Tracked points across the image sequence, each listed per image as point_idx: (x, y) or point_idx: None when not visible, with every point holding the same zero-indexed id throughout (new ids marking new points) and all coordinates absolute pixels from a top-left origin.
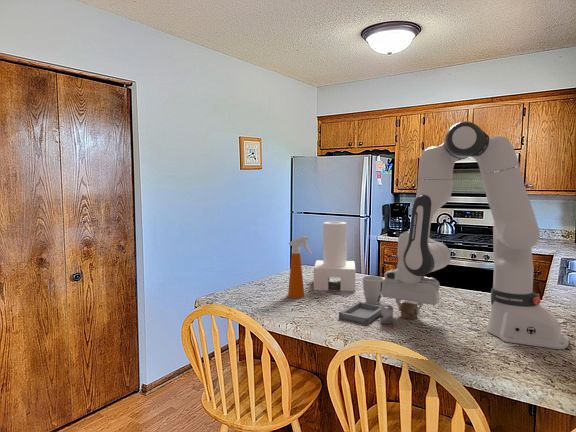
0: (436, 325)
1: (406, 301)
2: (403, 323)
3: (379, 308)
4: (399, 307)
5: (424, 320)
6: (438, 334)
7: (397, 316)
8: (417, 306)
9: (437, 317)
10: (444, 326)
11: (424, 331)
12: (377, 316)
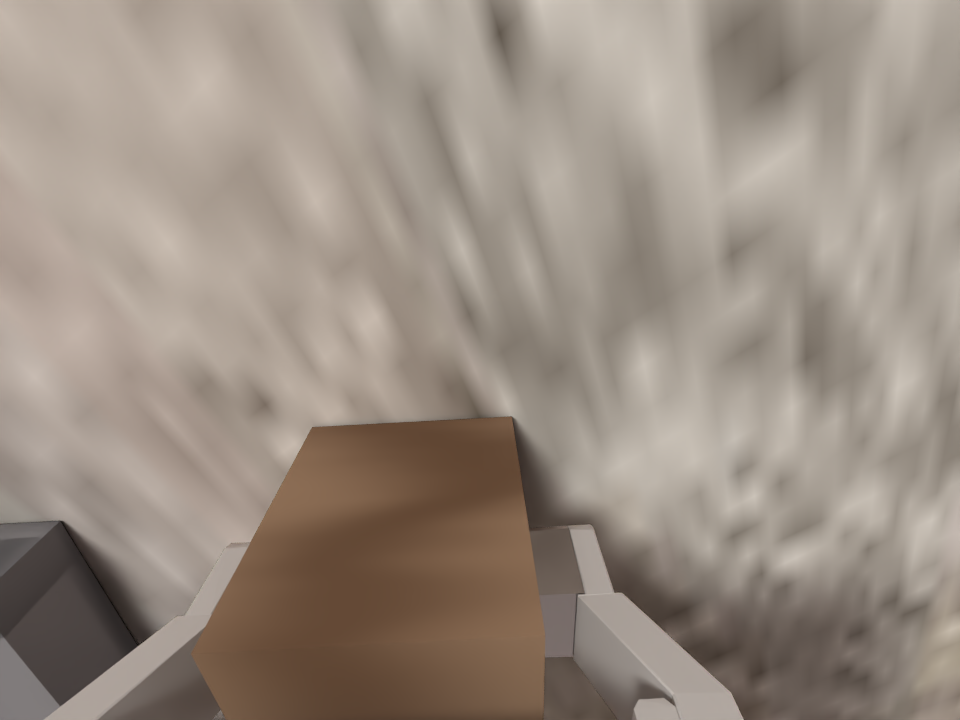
0: (811, 556)
1: (253, 680)
2: None
3: (9, 694)
4: None
5: (647, 495)
6: (830, 708)
7: None
8: (532, 551)
9: (827, 261)
10: (908, 536)
11: None
12: None
